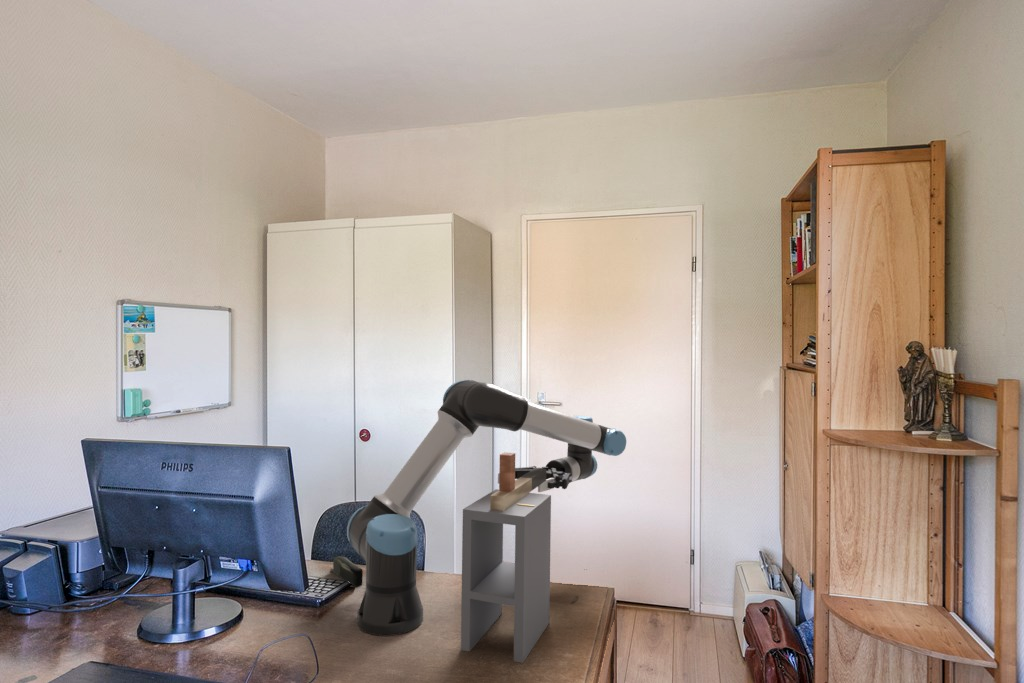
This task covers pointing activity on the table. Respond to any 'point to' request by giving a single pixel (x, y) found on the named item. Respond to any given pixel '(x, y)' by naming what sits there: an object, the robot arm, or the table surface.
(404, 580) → the robot arm
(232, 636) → the table surface
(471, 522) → the shelf
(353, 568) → the mobile phone
